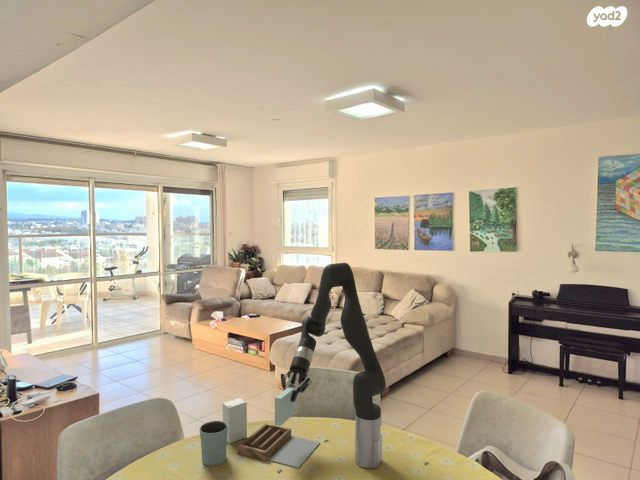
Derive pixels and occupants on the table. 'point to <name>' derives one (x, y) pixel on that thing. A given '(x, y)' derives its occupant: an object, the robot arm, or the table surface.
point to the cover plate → (285, 406)
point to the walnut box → (264, 441)
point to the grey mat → (294, 452)
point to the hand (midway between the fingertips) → (288, 400)
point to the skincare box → (235, 419)
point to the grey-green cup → (213, 442)
